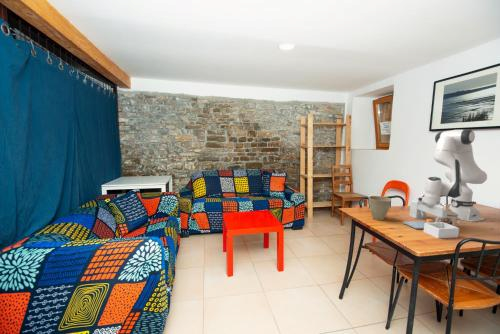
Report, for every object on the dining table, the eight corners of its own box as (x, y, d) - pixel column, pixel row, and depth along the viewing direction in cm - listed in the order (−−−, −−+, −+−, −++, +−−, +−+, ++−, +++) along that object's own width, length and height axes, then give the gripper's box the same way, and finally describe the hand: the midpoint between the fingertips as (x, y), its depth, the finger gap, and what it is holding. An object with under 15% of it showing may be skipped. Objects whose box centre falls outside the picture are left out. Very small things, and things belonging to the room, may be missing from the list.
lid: (424, 223, 164) (424, 217, 164) (438, 229, 154) (439, 222, 153) (403, 224, 162) (403, 217, 162) (416, 230, 152) (416, 223, 151)
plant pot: (364, 214, 181) (366, 195, 179) (385, 216, 178) (386, 196, 176) (370, 221, 166) (372, 200, 165) (392, 223, 163) (394, 201, 162)
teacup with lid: (436, 224, 162) (438, 208, 161) (443, 222, 166) (445, 206, 165) (457, 230, 151) (459, 213, 150) (464, 228, 155) (466, 211, 154)
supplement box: (425, 219, 173) (427, 202, 171) (415, 218, 173) (417, 202, 171) (418, 215, 180) (419, 200, 179) (409, 215, 180) (410, 200, 179)
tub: (442, 230, 150) (443, 222, 149) (458, 237, 140) (459, 228, 139) (423, 231, 148) (424, 222, 148) (438, 238, 138) (439, 228, 138)
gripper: (450, 204, 147) (448, 225, 148) (423, 196, 167) (421, 215, 169) (442, 205, 146) (440, 225, 148) (415, 197, 166) (413, 215, 168)
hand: (429, 219), depth 158 cm, fingers open, 8 cm apart
